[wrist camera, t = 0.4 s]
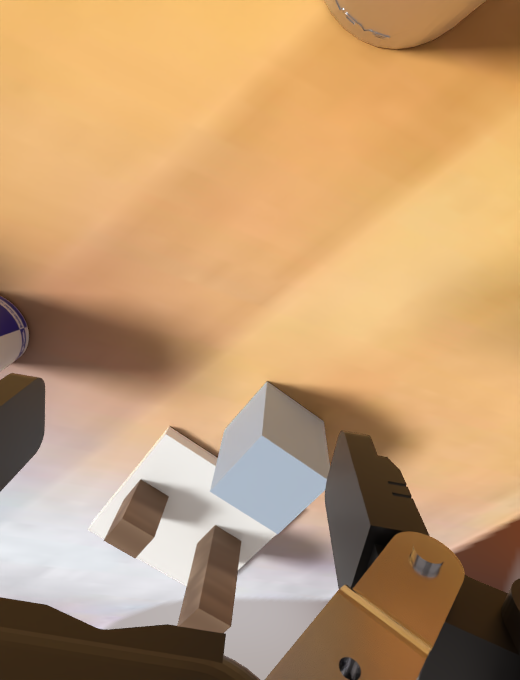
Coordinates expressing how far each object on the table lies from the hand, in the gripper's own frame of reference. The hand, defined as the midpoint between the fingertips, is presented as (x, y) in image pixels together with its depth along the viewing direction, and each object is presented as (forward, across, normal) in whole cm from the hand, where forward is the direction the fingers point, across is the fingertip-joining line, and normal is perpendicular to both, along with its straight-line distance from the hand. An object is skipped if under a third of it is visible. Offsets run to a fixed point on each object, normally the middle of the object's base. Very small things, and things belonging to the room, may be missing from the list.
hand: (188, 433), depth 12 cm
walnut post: (+19, -2, +21) cm, 28 cm away
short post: (+19, +5, +17) cm, 26 cm away
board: (+19, +1, +19) cm, 27 cm away
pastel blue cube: (+18, -4, +10) cm, 21 cm away
